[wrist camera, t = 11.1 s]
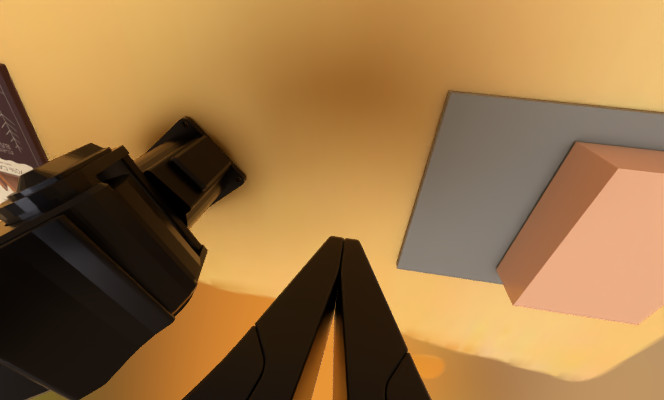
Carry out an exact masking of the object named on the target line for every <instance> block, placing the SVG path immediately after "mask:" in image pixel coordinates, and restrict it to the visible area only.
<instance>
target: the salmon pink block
mask: <svg viewBox="0 0 664 400" xmlns="http://www.w3.org/2000/svg"><path fill="white" fill-rule="evenodd" d="M496 270H497V273H498V275H499V277H500V279H501V281H502V283H503V285H504V287H505V290H506V292H507V294H508V296H509V298H510V300H511V302H512V304H513V306H518V307H525V308H531V309H538V310H544V311H550V312H557V313H563V314H570V315H576V316H583V317H589V318H595V319H602V320H608V321H615V322H621V323H628V324H634V325H639V324H640V323H641V322H642V321H644V320H645V319H646V318H648V317H649V316H650V315H652V314H653V313H654V312H656V311H657V310H658V309H659V308H661V307H662V306H663V305H664V151H656V150H647V149H638V148H629V147H620V146H611V145H603V144H594V143H585V142H576V143H575V144H574V146H573V148H572V149H571V151H570V152H569V154H568V156H567V157H566V159H565V160H564V162H563V164H562V165H561V167H560V168H559V170H558V172H557V173H556V175H555V176H554V178H553V180H552V181H551V183H550V184H549V186H548V188H547V189H546V191H545V192H544V194H543V196H542V197H541V199H540V200H539V202H538V204H537V205H536V207H535V208H534V210H533V212H532V213H531V215H530V216H529V218H528V220H527V221H526V223H525V224H524V226H523V228H522V229H521V231H520V232H519V234H518V236H517V237H516V239H515V240H514V242H513V244H512V245H511V247H510V248H509V250H508V252H507V253H506V255H505V256H504V258H503V260H502V261H501V263H500V264H499V266H498V268H497V269H496Z"/></svg>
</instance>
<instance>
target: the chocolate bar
mask: <svg viewBox="0 0 664 400" xmlns="http://www.w3.org/2000/svg"><path fill="white" fill-rule="evenodd" d="M47 162H49V161H48V159H47V157H46V154H45V152H44V150H43V148H42V146H41V143H40V141H39V139H38V137H37V134H36V132H35V130H34V128H33V126H32V123H31V121H30V119H29V117H28V115H27V112H26V110H25V108H24V106H23V103H22V101H21V99H20V97H19V95H18V92H17V90H16V88H15V86H14V83H13V81H12V79H11V77H10V75H9V72H8V70H7V68H6V66H5V65H4V64H0V204H1V203H3V202H4V201H6V200H7V199H8V198H7V196H8V195H10V194H12V193H13V192H15V191H16V189H17V184H18V180H19V176H20V175H22V174H24V173H26V172H28V171H30V170H33V169H35V168H37V167H39V166H41V165H43V164H45V163H47ZM0 220H1V219H0Z"/></svg>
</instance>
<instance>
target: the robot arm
mask: <svg viewBox="0 0 664 400" xmlns="http://www.w3.org/2000/svg"><path fill="white" fill-rule="evenodd" d="M185 122H186V123H187V124H188V126H189V127H188V126H187V125H186V124H185ZM128 154H129V152H128V151H127V149H126V148H125V147H124V146H123V145H122V146H119V147H117V148H114V149H110V147H108V148H102V147H99V146H97V145H95V144H92V143H90V144H87V145H85V146H82V147H80V148H78V149H76V150H73V151H71V152H69V153H67V154H65V155H62V156H60V157H58V158H56V159H54V160H51V161H49V162H47V163H45V164H43V165H41V166H39V167H37V168H35V169H33V170H30V171H28V172H26V173H24V174H22V175H20V176H19V180H18V184H17V189H16V191H15V192H13V193H12V194H10V195H8V196H7V198H8V199H7V200H6V201H4V202H3V203H1V204H0V219H1V220H2V221H0V400H29V399H32V398H34V397H37V396H39V395H42V394H45V393H47V392H50V391H53V392H55V393H57V394H59V395H60V396H62V397H64V398H66V399H68V400H79V399H81V398H83V397H85V396H86V395H88V394H90V393H92V392H93V391H95V390H97V389H98V388H100V387H102V386H103V385H104V384H106V383H107V382H108V381H109V380H110V379H111V377H112V376H113V375H114V374H115V373H116V372H117V371H118V370H119V369H120V368H121V367H122V366H123V364H124V363H125V362H126V361H127V360H128V359H129V358H130V357H131V356H132V355H133V354H134V353H135V352H136V351H137V350H138V349H139V348H140V347H141V346H142V345H144V344H145V343H146V342H147V341H148V340H149V339H151V338H152V337H153V336H154V335H155V334H157V333H158V332H160V331H161V330H163V329H164V328H165V327H167V326H169V325H170V324H171V323H173V321H174V320H175V316H176V315H177V314H178V313H179V312H180V311H181V310H182V309H183V308H184V307H185V305H186V304H187V303H188V302H189V300H190V299H191V297H192V295H193V293H194V291H195V289H196V287H197V281H198V278H199V275H200V272H201V269H202V266H203V263H204V260H205V257H206V254H207V251H208V250H207V249H206V248H205V246H204V245H201V244H200V243H199V241H198V240H197V239H196V238H195V236H194V235H193V234H192V233H191V231H190V230H189V229H190V228H191V227H192V225H193V224H194V223H195V222H196V221H197V220H198V219H199V217H200V216H201V215H202V214H203V213H204V212H205V211H206V209H207V208H208V207H210V206H211V205H213V204H214V203H216V202H217V201H218V200H220V199H221V198H223V197H224V196H226V195H227V194H229V193H230V192H232V191H233V190H235V189H236V188H238V187H239V186H241V185H242V184H243V183H244V182H245V181H246V176H245V175H244V174H243V173H242V172H241V171H240V170H239V169H238V167H237V166H236V165H235V164H234V163H233V162H232V161H231V160H230V159H229V158H228V157H227V156H226V155H225V154H224V153H223V152H222V151H221V150H220V148H219V147H218V146H217V145H216V144H215V143H214V142H213V141H212V140H211V139H210V138H209V137H208V136H207V135H206V134H205V133H204V132H203V131H202V130H201V129H200V127H199V126H198V125H197V124H196V123H195V122H194V121H193V120H192V119H191V118H189V117H184V118H182V119H180V120H179V121H178V122H177V123H176V124H175V125H174V126H173V127H172V128H171V129H170V130H169V131H168V132H167V133H166V134H165V135H164V136H163V137H162V138H161V139H160V140H159V141H158V142H157V143H156V144H154V145H153V146H152V147H151V148H150V149H149V150H148V151H147V152H146V153H145V154H144V155H143V156H141V157H139V158H138V159H136V160H134V161H133V160H132V159H131V157H130V156H129V155H128ZM237 177H239V178H241V180H239V179H238V178H237ZM336 297H337V298H336ZM335 304H336V305H335ZM334 310H335V315H334ZM333 315H334V359H333V363H334V364H333V400H432V399H431V398H430V395H429V394H428V391H427V389H426V387H425V385H424V383H423V381H422V379H421V377H420V375H419V373H418V370H417V368H416V366H415V364H414V361H413V359H412V357H411V355H410V353H407V352H408V348H407V346H406V344H405V342H404V339H403V337H402V335H401V333H400V331H399V328H398V326H397V324H396V322H395V319H394V317H393V315H392V313H391V310H390V308H389V306H388V304H387V301H386V299H385V297H384V295H383V293H382V290H381V288H380V286H379V284H378V281H377V279H376V277H375V275H374V272H373V270H372V268H371V266H370V263H369V261H368V259H367V257H366V255H365V252H364V250H363V248H362V246H361V243H360V242H359V240H356V239H349V238H346V239H345V240H344V238H342V237H335V236H330V237H329V238H328V239H327V240H326V242H325V243H324V244H323V245H322V246H321V247H320V249H319V250H318V251H317V252H316V253H315V254H314V256H313V257H312V258H311V259H310V260H309V261H308V262H307V264H306V265H305V266H304V267H303V268H302V269H301V271H300V272H299V273H298V274H297V275H296V276H295V278H294V279H293V280H292V281H291V282H290V283H289V285H288V286H287V287H286V288H285V289H284V290H283V292H282V293H281V294H280V295H279V296H278V297H277V299H276V300H275V301H274V302H273V303H272V304H271V306H270V307H269V308H268V309H267V310H266V311H265V313H264V314H263V315H262V316H261V317H260V318H259V320H258V321H257V322H256V323H255V326H252V327H251V329H250V330H249V331H248V332H247V333H246V334H245V336H244V337H243V338H242V339H241V340H240V341H239V342H238V344H237V345H236V346H235V347H234V348H233V349H232V350H231V351H230V352H229V353H228V355H227V356H226V357H225V358H224V359H223V360H222V361H221V362H220V363H219V364H218V365H217V366H216V367H215V368H214V369H213V370H212V371H211V372H210V373H209V374H208V375H207V376H206V377H205V378H204V379H203V380H202V381H201V382H200V383H199V384H198V385H197V386H196V387H195V388H194V389H193V390H192V391H191V392H189V393H188V394H187V395H186V396H185V397H184V398H183V399H182V400H311V398H312V394H313V391H314V387H315V383H316V380H317V376H318V372H319V368H320V365H321V361H322V357H323V354H324V350H325V346H326V342H327V339H328V335H329V331H330V327H331V324H332V320H333Z"/></svg>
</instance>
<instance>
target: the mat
mask: <svg viewBox="0 0 664 400" xmlns="http://www.w3.org/2000/svg"><path fill="white" fill-rule="evenodd" d="M576 142H585V143H594V144H603V145H611V146H620V147H629V148H638V149H647V150H656V151H664V113H663V112H654V111H644V110H634V109H624V108H614V107H605V106H595V105H585V104H575V103H565V102H555V101H546V100H536V99H526V98H516V97H506V96H497V95H487V94H477V93H467V92H457V91H449V92H448V95H447V99H446V102H445V105H444V109H443V112H442V115H441V118H440V122H439V125H438V128H437V132H436V135H435V138H434V142H433V145H432V148H431V152H430V155H429V158H428V161H427V165H426V168H425V171H424V175H423V178H422V181H421V185H420V188H419V191H418V195H417V198H416V201H415V204H414V208H413V211H412V214H411V218H410V221H409V224H408V228H407V231H406V234H405V238H404V241H403V244H402V247H401V251H400V254H399V257H398V261H397V269H403V270H410V271H416V272H423V273H430V274H436V275H443V276H450V277H456V278H463V279H470V280H476V281H483V282H489V283H496V284H503V283H502V281H501V279H500V277H499V275H498V273H497V270H496V269H497V268H498V266H499V264H500V263H501V261H502V260H503V258H504V256H505V255H506V253H507V252H508V250H509V248H510V247H511V245H512V244H513V242H514V240H515V239H516V237H517V236H518V234H519V232H520V231H521V229H522V228H523V226H524V224H525V223H526V221H527V220H528V218H529V216H530V215H531V213H532V212H533V210H534V208H535V207H536V205H537V204H538V202H539V200H540V199H541V197H542V196H543V194H544V192H545V191H546V189H547V188H548V186H549V184H550V183H551V181H552V180H553V178H554V176H555V175H556V173H557V172H558V170H559V168H560V167H561V165H562V164H563V162H564V160H565V159H566V157H567V156H568V154H569V152H570V151H571V149H572V148H573V146H574V144H575V143H576Z"/></svg>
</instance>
